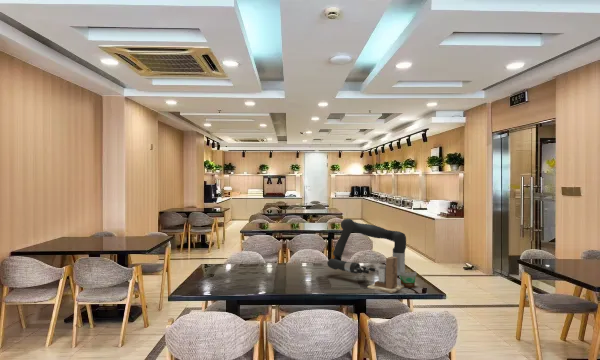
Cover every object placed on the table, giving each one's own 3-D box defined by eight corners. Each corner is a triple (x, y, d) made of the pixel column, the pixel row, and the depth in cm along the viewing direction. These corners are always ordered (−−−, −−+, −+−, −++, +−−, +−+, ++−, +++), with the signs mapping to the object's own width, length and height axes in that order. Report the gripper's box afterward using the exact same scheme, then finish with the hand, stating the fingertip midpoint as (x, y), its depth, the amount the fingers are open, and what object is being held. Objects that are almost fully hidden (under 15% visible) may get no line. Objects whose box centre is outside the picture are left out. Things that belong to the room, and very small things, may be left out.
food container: (403, 288, 255) (403, 273, 255) (399, 286, 261) (399, 271, 261) (419, 287, 258) (420, 273, 258) (415, 285, 264) (415, 271, 264)
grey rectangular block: (381, 284, 262) (381, 265, 262) (387, 285, 259) (387, 266, 259) (378, 285, 258) (378, 266, 258) (384, 287, 255) (384, 267, 255)
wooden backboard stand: (380, 282, 270) (380, 253, 270) (404, 287, 258) (404, 256, 258) (367, 287, 256) (367, 256, 256) (391, 293, 244) (391, 260, 244)
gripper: (346, 263, 269) (366, 267, 259) (357, 260, 280) (377, 264, 270) (346, 274, 269) (366, 278, 259) (357, 271, 280) (376, 274, 269)
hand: (371, 271), depth 264 cm, fingers open, 8 cm apart
